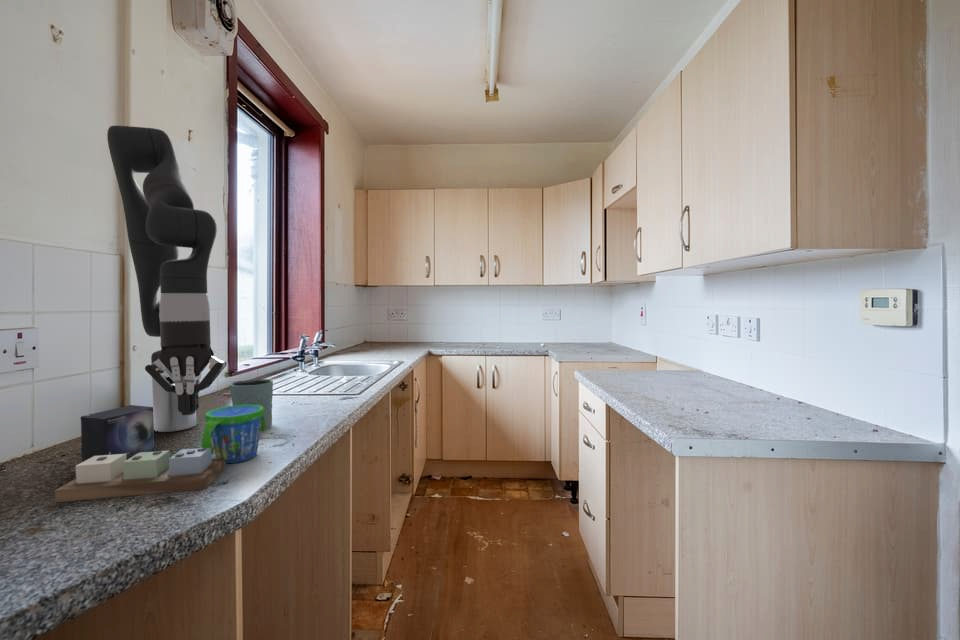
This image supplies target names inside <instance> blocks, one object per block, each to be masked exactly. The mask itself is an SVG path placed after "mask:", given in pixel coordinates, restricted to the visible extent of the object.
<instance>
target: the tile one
mask: <svg viewBox="0 0 960 640" xmlns="http://www.w3.org/2000/svg"><path fill="white" fill-rule="evenodd" d="M126 460H127V456H126V454H114V455H101V456H93V457H92V458H90V459H88V460H86V461H84V462H82V461H81V463H78V464H76V465H75V479H76V484H82V483H93V482H105V481H112V480H114V479H115V478H117V477H118V476H120V475H121V474H123V473H124V470H123V462H124V461H126Z"/></svg>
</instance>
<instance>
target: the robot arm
mask: <svg viewBox="0 0 960 640" xmlns="http://www.w3.org/2000/svg"><path fill="white" fill-rule="evenodd" d="M106 134H107V135H106V137H107V138H106V139H107V145H108V150H109V154H110V158H111V162H112V164H113V165H112V166H113V169H114V170H113V171H114V174H115V177H116V181H117V185H118V189H119V193H120V196H121V201H122V206H123V213H124V218H125V224H126V225H125V226H126V232H127V238H128V245H129V249H130V254H131V257H132V262H133V267H134V271H135V275H136V276H135V277H136V280H137V286H138V296H139V297H138V298H139V303H140V304H139V305H140V315H141V322H142V326H143V330H144V331H145V333H146V335H147V336H149V337H156V338H159V337H160V346H161V347H160V348H161V349H160V350H156V351H154V352H152V353H151V358H150V359H151V360H150V361H151V363H150V364H147V365H145V367H144V370H145V371H146V372H147V373H148V374H149V375H150V377H151V386H152V387H151V388H152V407H153V422H154V430H155V431H154V432H157V431H158V433H167V432H168V433H169V432H170V433H171V432H177V431H183V430H187V429H191V428H194V427H196V425H198V424H197V410H199V407H200V404H199V403H200V402H199V400H200V399H199V393H200V391H203V390H205V389H208V388H209V387H210V386H211V385H212V384H213V383H214V381H215V380H216V379H217V378H218V376H219V375H220V374H221V372H222V371H223V370H224V369H225V367H226V366H227V361H226V360H221V359H219V358H217V357H216V356H214V355H215V354H214V353H215V352H214V351H213V349H212V347H211V318H210V317H211V316H210V315H211V314H210V312H211V311H210V310H211V309H210V308H211V307H210V303H209V296H208V268H209V262H210V257H211V254H212V249H213V247H214V244H215V240H216V237H217V232H218V231H217V230H218V226H217V222H216V220H215V219H214V217H213V216H212V214H211V213H209V212H208V211H206V210H202V209H195V206H194V202H193V199H192V197H191V195H190V193H189V192H188V190H187V188H186V185H185V184H184V181H183V178H182V173H181V167H180V164H179V160H178V158H177V154H176V150H175V146H174V144H173V141H172V139H171V138H170V136H169V135H168V133H166V131H164V130H162V129H159V128H158V129H157V128H153V127H144V126H143V127H141V126H128V125H111V126H109V127H108V129H107V133H106ZM135 173H138V174H139V173H140V174H142V173H143V174H147V175H146V176H145V178H144V180H143V183H142V188H141V187H140V186H139V184H138V183H137V181H136V179H135V175H134V174H135ZM179 248H186V249H187V248H188V249H190V248H191V253H190V254H189V256H188V257H186V258H179V253H180V251H179ZM178 258H179V259H178ZM159 288H160V299H159V300H158V297H157V296H158V291H159ZM207 366H208V369H209V371H208V372H207V374H205V376H204V377H203V378H202V372H203V371H204V370H205V369H206V367H207ZM201 379H202V380H201Z"/></svg>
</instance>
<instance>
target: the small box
mask: <svg viewBox="0 0 960 640" xmlns="http://www.w3.org/2000/svg"><path fill="white" fill-rule="evenodd" d="M80 429H81V430H80V433H81V436H80V437H81V438H80V439H81V442H80V443H81V444H80V445H81V463H82V462H84V461H86V460H88V459H90V458H92V457H93V456H101V455H114V454H126V456H127V460H128V459H129V458H131V457H133V456H134V455H136V454H138V453H142V452H155V433H154V432H155V431H154V417H153V406H146V405H145V406H143V405H137V404H136V405H134V404H130V405H126V406H121V407H117V408H112V409H108V410H103V411H99V412H95V413H91V414H89V413H88V414H85V415H81V416H80Z"/></svg>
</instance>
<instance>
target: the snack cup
mask: <svg viewBox="0 0 960 640" xmlns="http://www.w3.org/2000/svg"><path fill="white" fill-rule="evenodd" d="M204 418H205V422H206V423H205V425H204V429H203V432H202V437H201V442H200V448H204V447H206V448H210V447H211V455H212V454H214V459H217V458H225V464H235V463H237V464H238V463H241V462H245V461H249V460H250V459H252V458H253V457H255V456H257V453H258V448H259V441H260V433H264V432H265V431H266V430H267V429H266V422H265V417H264V409H263V407H262V406H260V405H234V406H233V405H227V406H224V407H223V406H222V407H217V408H215V409H212V410H210V411H207V412H206V414H205V415H204Z"/></svg>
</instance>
